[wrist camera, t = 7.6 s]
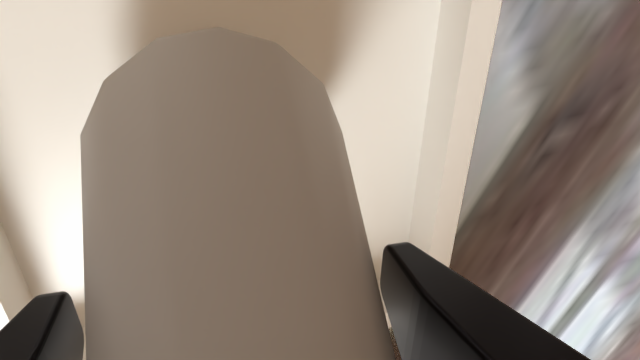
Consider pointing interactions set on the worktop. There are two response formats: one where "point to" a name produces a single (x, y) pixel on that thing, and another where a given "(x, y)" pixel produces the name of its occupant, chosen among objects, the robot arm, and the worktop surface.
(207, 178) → the salt shaker
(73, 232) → the tray
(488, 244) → the worktop surface
